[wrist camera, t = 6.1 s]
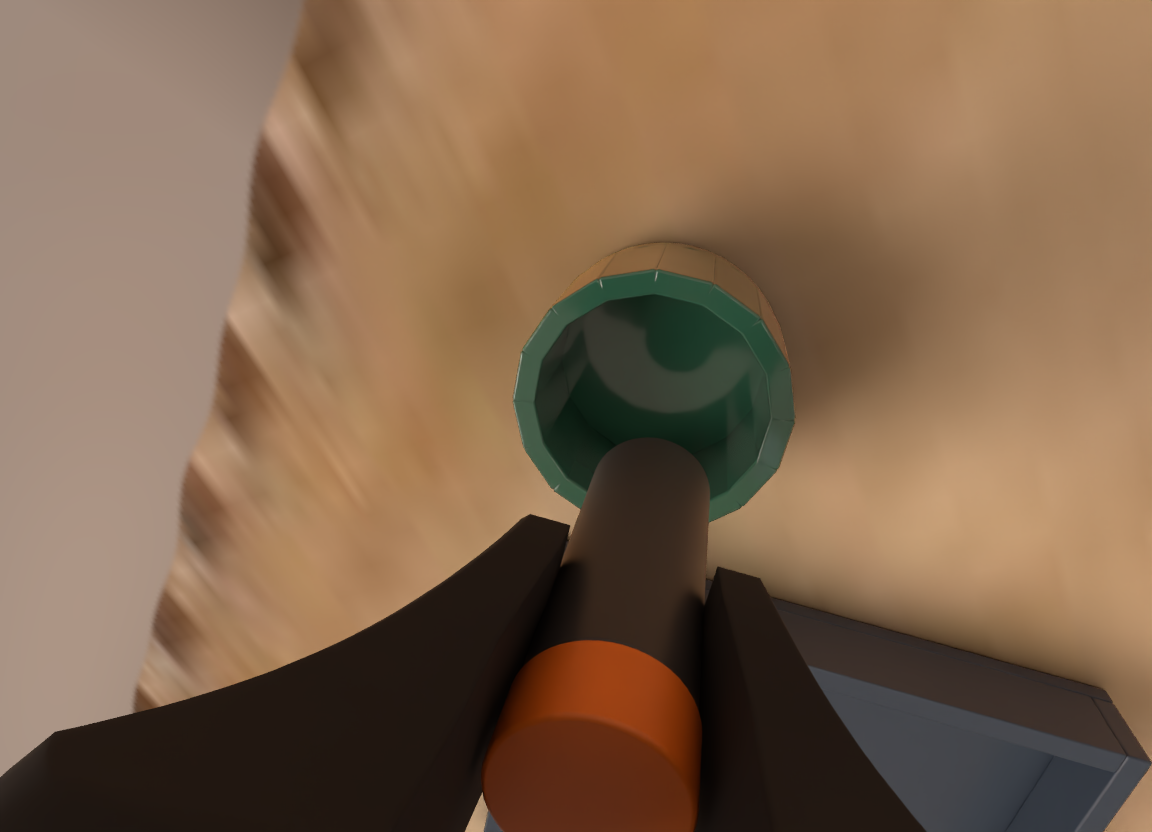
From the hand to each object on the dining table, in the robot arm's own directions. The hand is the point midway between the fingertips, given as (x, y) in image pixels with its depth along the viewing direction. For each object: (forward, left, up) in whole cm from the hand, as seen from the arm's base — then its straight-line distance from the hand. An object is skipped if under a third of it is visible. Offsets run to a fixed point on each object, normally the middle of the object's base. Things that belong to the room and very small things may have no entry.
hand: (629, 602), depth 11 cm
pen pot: (0, -1, -9) cm, 9 cm away
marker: (0, 0, -3) cm, 3 cm away
